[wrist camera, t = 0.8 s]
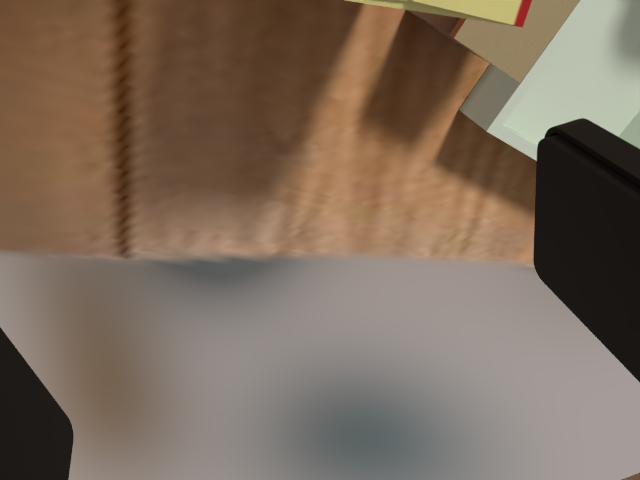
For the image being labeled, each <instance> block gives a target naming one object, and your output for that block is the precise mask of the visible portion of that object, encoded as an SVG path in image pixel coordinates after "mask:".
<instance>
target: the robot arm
mask: <svg viewBox="0 0 640 480" xmlns="http://www.w3.org/2000/svg"><path fill="white" fill-rule="evenodd" d="M534 266H535V269H536V272H537V274H538V276H539V277H540V279H541V280H542V281H543V282H544V283H545V284H546V285H547V286H548V287H549V288H550V289H551V290H552V291H553V293H555V295H556V296H557V297H558V298H559V299H560V300H561V301H562V302H563V303H564V304H565V305H566V306H567V307H568V308H569V309H570V310H571V311H572V312H573V313H574V314H575V315H576V316H577V317H578V318H579V319H580V321H581V322H582V323H583V324H584V325H585V326H586V327H587V328H588V329H589V330H590V331H591V332H592V333H593V334H594V335H595V336H596V337H597V338H598V339H599V340H600V341H601V342H602V343H603V344H604V345H605V347H606V348H608V350H609V351H610V352H611V353H612V354H613V355H614V356H615V357H616V358H617V359H618V360H619V361H620V362H621V363H622V364H623V365H624V366H625V367H626V368H627V369H628V370H629V371H630V373H631V374H632V375H633V376H634V377H635V378H636V379H637V380H638V381H639V382H640V149H639V148H637V147H635V146H634V145H632V144H630V143H628V142H627V141H625V140H623V139H621V138H620V137H618V136H616V135H614V134H613V133H611V132H609V131H607V130H606V129H604V128H602V127H600V126H598V125H597V124H595V123H593V122H591V121H590V120H588V119H585V118H581V119H576V120H573V121H570V122H567V123H564V124H561V125H557V126H554V127H551V128H549V129H548V130H547V132H546V134H545V138H544V139H541V140H540V141H539V143H538V147H537V168H536V200H535V231H534ZM72 446H73V430H72V425H71V423H70V420H69V418H68V417H67V415H66V414H65V413H64V411H63V410H62V409H61V407H60V406H59V405H58V403H57V402H56V401H55V400H54V398H53V397H52V395H51V394H50V393H49V391H48V390H47V389H46V388H45V386H44V385H43V383H42V382H41V381H40V380H39V378H38V377H37V376H36V374H35V373H34V372H33V370H32V369H31V368H30V366H29V365H28V364H27V362H26V361H25V360H24V358H23V357H22V356H21V354H20V353H19V352H18V350H17V349H16V348H15V346H14V345H13V344H12V342H11V341H10V340H9V338H8V337H7V336H6V334H5V333H4V332H3V331H2V329H1V328H0V480H68V478H69V469H70V461H71V454H72ZM622 480H640V473H638V474H635V475H633V476H630V477H628V478H625V479H622Z"/></svg>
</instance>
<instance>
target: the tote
mask: <svg viewBox="0 0 640 480" xmlns="http://www.w3.org/2000/svg"><path fill="white" fill-rule="evenodd" d="M459 110H460V111H461V112H462V113H463V114H465V115H466V116H467V117H469V118H470V119H471V120H472V121H474V122H475V123H476V124H477V125H479V126H480V127H481V128H483V129H484V130H485V131H486V132H488V133H490V134H492V135H493V136H495V137H497V138H498V139H500V140H502V141H503V142H505V143H507V144H509V145H510V146H512V147H514V148H515V149H517V150H519V151H520V152H522V153H524V154H526V155H527V156H529V157H531V158H532V159H534V160H536V161H537V147H538V143H539V141H540V140H541V139H544V138H545V134H546V132H547V130H548V129H549V128H551V127H554V126H557V125H561V124H564V123H567V122H570V121H573V120H576V119H581V118H585V119H588V120H590V121H591V122H593V123H595V124H597V125H598V126H600V127H602V128H604V129H606V130H607V131H609V132H611V133H613V134H614V135H616V136H618V137H620V138H621V139H623V140H625V141H627V142H628V143H630V144H632V145H634V146H635V147H637V148H639V149H640V0H579V2H578V3H577V4H576V6H575V7H574V9H573V10H572V11H571V13H570V14H569V16H568V17H567V18H566V20H565V21H564V23H563V24H562V25H561V27H560V28H559V30H558V31H557V32H556V34H555V35H554V37H553V38H552V39H551V41H550V42H549V43H548V45H547V46H546V48H545V49H544V50H543V52H542V53H541V55H540V56H539V57H538V59H537V60H536V62H535V63H534V64H533V66H532V67H531V69H530V70H529V71H528V73H527V74H526V76H525V77H524V78H523V80H522V81H521V83H520V82H518V81H516V80H514V79H513V78H511V77H510V76H508V75H507V74H505V73H504V72H503V71H501V70H500V69H498V68H497V67H495V66H494V65H492V64H490V65H489V66H488V68H487V69H486V71H485V72H484V73H483V75H482V76H481V78H480V79H479V81H478V82H477V84H476V85H475V87H474V88H473V90H472V91H471V92H470V94H469V95H468V97H467V98H466V100H465V101H464V103H463V104H462V106H461V107H460V109H459Z"/></svg>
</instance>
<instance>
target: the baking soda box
mask: <svg viewBox="0 0 640 480" xmlns="http://www.w3.org/2000/svg"><path fill="white" fill-rule="evenodd" d="M346 1H352V2H359V3H365V4H372V5H379V6H385V7H392V8H398V9H405V10H412V11H418V12H425V13H431V14H438V15H445V16H451V17H458V18H464V19H471V20H478V21H484V22H491V23H497V24H504V25H511V26H517V27H523V25H524V22H525V19H526V16H527V14H528V11H529V8H530V5H531V2H532V0H346Z"/></svg>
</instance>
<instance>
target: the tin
mask: <svg viewBox="0 0 640 480" xmlns="http://www.w3.org/2000/svg"><path fill="white" fill-rule="evenodd" d="M578 2H579V0H532V2H531V5H530V8H529V11H528V14H527V16H526V19H525V22H524V25H523V27H517V26H511V25H504V24H497V23H491V22H484V21H478V20H471V19H464V18H458V17H451V16H445V15H438V14H431V13H425V12H418V11H412V10H407V11H409V12H410V13H412V14H413V15H415V16H416V17H418V18H419V19H421V20H422V21H424V22H425V23H427V24H428V25H430V26H431V27H433V28H434V29H436V30H437V31H439V32H440V33H442V34H443V35H445V36H446V37H448V38H449V39H451V40H452V41H454V42H455V43H457V44H458V45H460V46H461V47H463V48H464V49H466V50H468V51H469V52H471V53H473V54H475V55H476V56H478V57H480V58H482V59H483V60H485V61H487V62H489V63H490V64H492V65H494V66H495V67H497V68H498V69H500V70H501V71H503V72H504V73H505V74H507V75H508V76H510V77H511V78H513V79H514V80H516V81H518V82H520V83H521V81H522V80H523V78H524V77H525V76H526V74H527V73H528V71H529V70H530V69H531V67H532V66H533V64H534V63H535V62H536V60H537V59H538V57H539V56H540V55H541V53H542V52H543V50H544V49H545V48H546V46H547V45H548V43H549V42H550V41H551V39H552V38H553V37H554V35H555V34H556V32H557V31H558V30H559V28H560V27H561V25H562V24H563V23H564V21H565V20H566V18H567V17H568V16H569V14H570V13H571V11H572V10H573V9H574V7H575V6H576V4H577V3H578Z"/></svg>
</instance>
